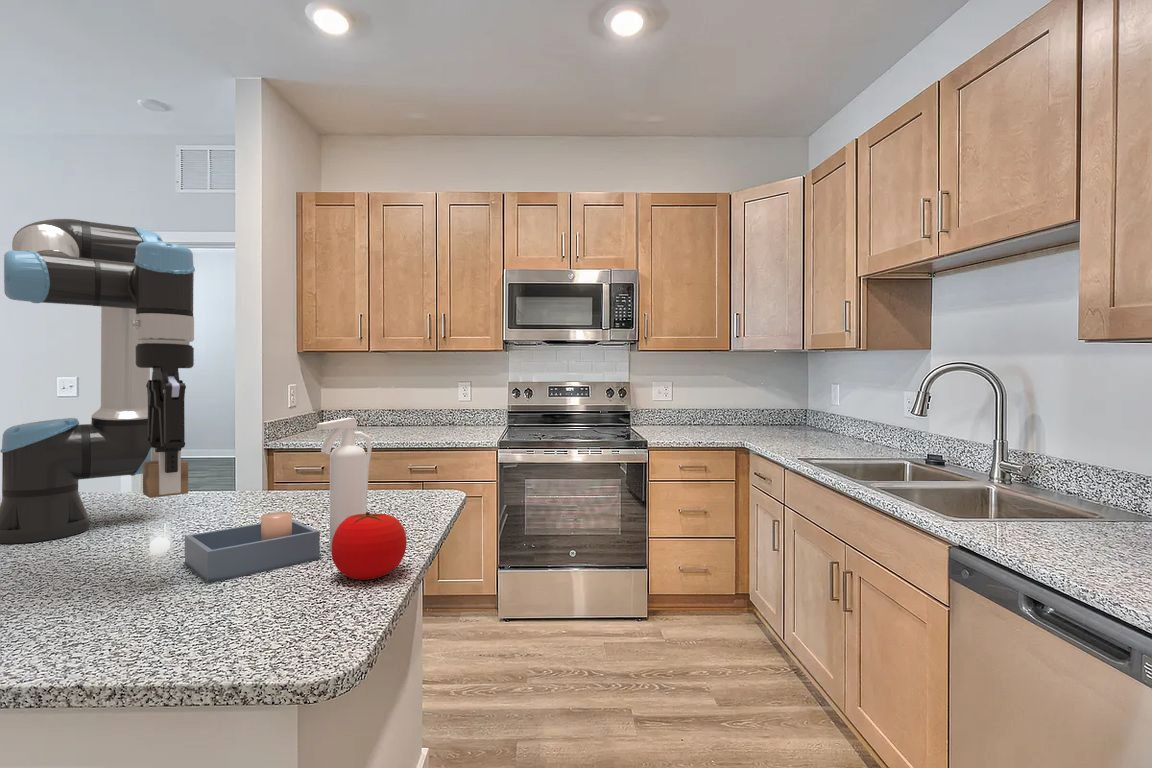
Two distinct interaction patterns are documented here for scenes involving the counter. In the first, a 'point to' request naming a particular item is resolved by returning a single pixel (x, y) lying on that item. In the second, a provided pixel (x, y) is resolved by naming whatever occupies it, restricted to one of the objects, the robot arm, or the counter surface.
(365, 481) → the white spray bottle
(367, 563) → the tomato
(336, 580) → the counter surface
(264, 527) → the peach rounded cylinder
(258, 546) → the tote
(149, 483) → the walnut cube
